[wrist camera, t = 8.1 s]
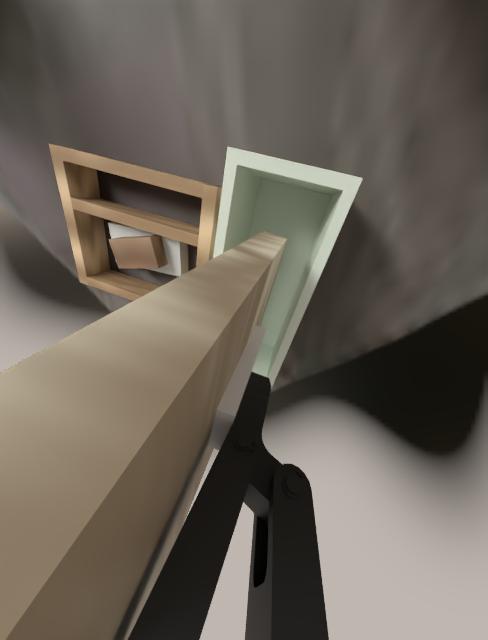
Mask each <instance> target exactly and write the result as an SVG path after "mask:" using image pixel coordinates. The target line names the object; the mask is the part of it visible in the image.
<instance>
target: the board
mask: <svg viewBox="0 0 488 640" xmlns="http://www.w3.org/2000/svg"><path fill="white" fill-rule="evenodd" d="M287 239H288V238H286V237H283V236H279V235H276V234H272V233H268V232H265V231H263V232H261V233H259V234H258V235H256V236H254V237H252V238H250V239H248V240H246V241H245V242H243V243H241V244H239V245H237V246H235V247H233V248H232V249H230V250H228V251H226V252H224V253H222V254H220V255H219V256H217V257H215V258H213V259H211V260H209V261H207V262H205V263H204V264H202V265H200V266H198V267H196V268H194V269H192V270H191V271H189V272H187V273H185V274H183V275H181V276H179V277H178V278H176V279H174V280H172V281H170V282H168V283H166V284H164V285H163V286H161V287H159V288H157V289H155V290H153V291H151V292H150V293H148V294H146V295H144V296H142V297H140V298H138V299H137V300H135V301H133V302H131V303H129V304H127V305H125V306H124V307H122V308H120V309H118V310H116V311H114V312H112V313H110V314H109V315H107V316H105V317H103V318H101V319H99V320H97V321H96V322H94V323H92V324H90V325H88V326H86V327H84V328H83V329H81V330H79V331H77V332H75V333H73V334H72V335H70V336H68V337H66V338H64V339H62V340H60V341H58V342H56V343H55V344H53V345H51V346H49V347H47V348H45V349H43V350H42V351H40V352H38V353H36V354H34V355H32V356H30V357H29V358H27V359H25V360H23V361H21V362H19V363H17V364H15V365H14V366H12V367H10V368H8V369H6V370H4V371H2V372H1V373H0V640H128V638H129V636H130V634H131V632H132V630H133V628H134V625H135V623H136V621H137V619H138V617H139V615H140V613H141V611H142V609H143V607H144V605H145V603H146V601H147V599H148V597H149V595H150V593H151V590H152V588H153V586H154V584H155V582H156V580H157V578H158V576H159V574H160V572H161V570H162V568H163V566H164V564H165V562H166V560H167V558H168V555H169V553H170V551H171V549H172V547H173V545H174V543H175V541H176V539H177V537H178V535H179V533H180V531H181V529H182V526H183V524H184V521H185V519H186V516H187V514H188V511H189V509H190V506H191V504H192V501H193V499H194V496H195V494H196V491H197V489H198V486H199V484H200V481H201V479H202V476H203V474H204V471H205V469H206V466H207V464H208V461H209V459H210V456H211V454H212V451H213V449H214V448H213V447H210V446H208V444H209V440H210V435H211V431H212V427H213V423H214V419H215V415H216V410H217V408H218V405H219V403H220V401H221V399H222V397H223V395H224V392H225V390H226V388H227V386H228V384H229V382H230V379H231V377H232V375H233V373H234V371H235V369H236V366H237V364H238V362H239V360H240V358H241V355H242V353H243V351H244V349H245V347H246V345H247V342H248V340H249V338H250V336H251V334H252V332H253V329H254V327H255V325H257V326H260V325H261V322H262V319H263V316H264V313H265V309H266V306H267V303H268V300H269V297H270V293H271V290H272V287H273V284H274V281H275V277H276V274H277V271H278V268H279V265H280V262H281V258H282V255H283V252H284V249H285V246H286V242H287Z"/></svg>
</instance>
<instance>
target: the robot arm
mask: <svg viewBox="0 0 488 640" xmlns="http://www.w3.org/2000/svg"><path fill="white" fill-rule="evenodd" d="M265 332H266V329H265V328H263V327H260V326H257V325H255V327H254V329H253V332H252V334H251V336H250V338H249V340H248V342H247V345H246V347H245V349H244V351H243V353H242V355H241V358H240V360H239V362H238V364H237V366H236V369H235V371H234V373H233V375H232V377H231V379H230V382H229V384H228V386H227V388H226V390H225V392H224V395H223V397H222V399H221V401H220V403H219V405H218V408H217V410H216V415H215V419H214V423H213V427H212V431H211V435H210V440H209V444H208V446H210V447H213V448H215V449H217V450H219V453H218V455H217V457H216V459H215V461H214V463H213V465H212V467H211V469H210V471H209V473H208V475H207V477H206V479H205V481H204V483H203V485H202V488H201V490H200V492H199V494H198V496H197V498H196V500H195V502H194V504H193V506H192V508H191V510H190V512H189V514H188V516H187V518H186V521H185V523H184V525H183V527H182V529H181V531H180V533H179V535H178V537H177V539H176V541H175V543H174V545H173V547H172V549H171V551H170V553H169V555H168V558H167V560H166V562H165V564H164V566H163V568H162V570H161V572H160V574H159V576H158V578H157V580H156V582H155V584H154V586H153V588H152V590H151V593H150V595H149V597H148V599H147V601H146V603H145V605H144V607H143V609H142V611H141V613H140V615H139V617H138V619H137V621H136V623H135V625H134V628H133V630H132V632H131V634H130V636H129V638H128V640H199V639H200V636H201V632H202V629H203V626H204V623H205V620H206V617H207V614H208V610H209V607H210V604H211V601H212V598H213V595H214V591H215V588H216V585H217V582H218V579H219V576H220V572H221V570H222V566H223V563H224V560H225V557H226V554H227V551H228V548H229V544H230V541H231V538H232V535H233V532H234V529H235V525H236V522H237V519H238V516H239V513H240V510H241V507H242V503H243V502H244V503H245V504H246V505H247V506H248V507H249V508H250V509H251V510H252V511H253V512H254V524H253V539H252V551H251V565H250V578H249V592H248V606H247V620H246V632H245V640H329V638H328V629H327V621H326V611H325V603H324V595H323V585H322V577H321V568H320V560H319V551H318V542H317V534H316V525H315V517H314V508H313V499H312V491H311V487H310V483H309V480H308V479H307V477H306V475H305V474H304V472H303V471H302V470H300V468H298V467H297V466H295V465H293V464H284V465H282V464H281V463H280V462H279V461H278V460H276V459H275V458H274V457H273V456H272V455H271V454H270V453H269V452H268V451H267V449H266V448H265V446H264V444H263V441H262V428H263V423H264V418H265V414H266V409H267V404H268V400H269V395H270V391H271V383H270V379H269V378H268V377H265V376H262V375H260V374H257V373H254V372H252V370H253V367H254V364H255V361H256V359H257V356H258V353H259V350H260V347H261V344H262V341H263V338H264V335H265Z"/></svg>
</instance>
